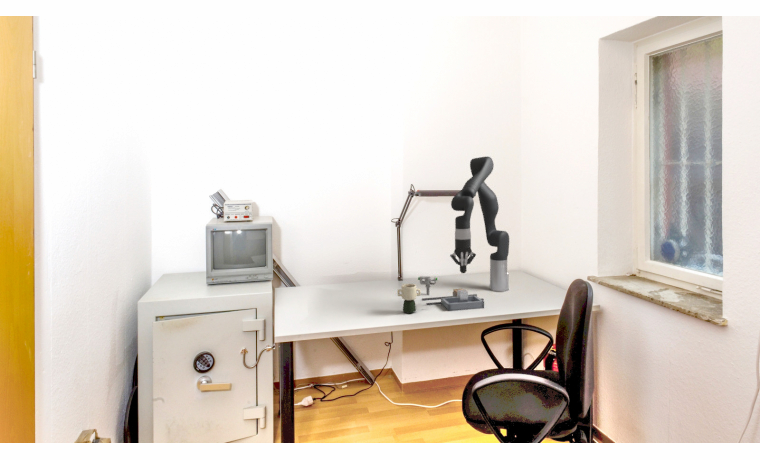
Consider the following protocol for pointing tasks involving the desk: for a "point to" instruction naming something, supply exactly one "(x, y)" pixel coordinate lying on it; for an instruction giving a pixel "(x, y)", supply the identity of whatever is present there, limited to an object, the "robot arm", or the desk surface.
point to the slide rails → (440, 298)
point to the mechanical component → (427, 282)
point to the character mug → (409, 297)
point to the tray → (452, 303)
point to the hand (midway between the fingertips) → (463, 272)
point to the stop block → (462, 296)
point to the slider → (455, 292)
